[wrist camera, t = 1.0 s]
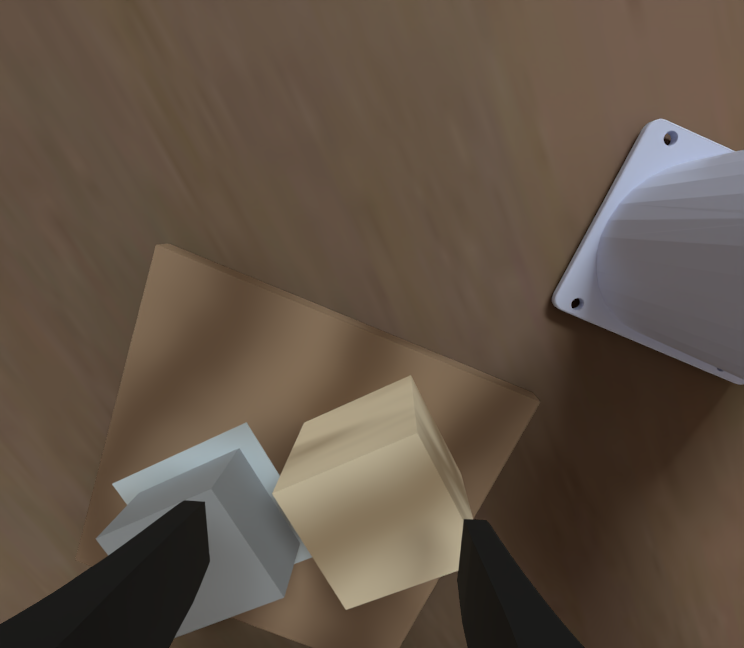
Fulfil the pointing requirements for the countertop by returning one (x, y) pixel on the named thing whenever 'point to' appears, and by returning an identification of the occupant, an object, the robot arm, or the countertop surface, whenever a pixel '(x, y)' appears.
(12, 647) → the robot arm
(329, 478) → the maple cube
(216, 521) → the grey base block
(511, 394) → the board
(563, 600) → the countertop surface
